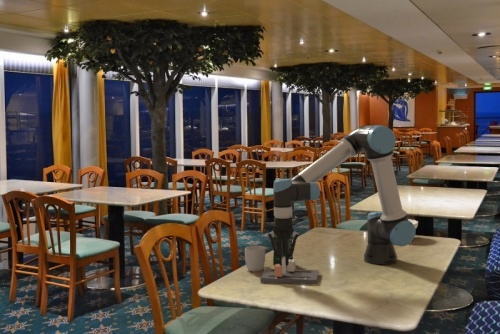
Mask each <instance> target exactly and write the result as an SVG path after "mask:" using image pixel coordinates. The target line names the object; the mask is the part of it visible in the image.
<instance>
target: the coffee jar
mask: <svg viewBox="0 0 500 334" xmlns="http://www.w3.org/2000/svg"><path fill="white" fill-rule="evenodd" d="M274 239H275V243H276V246H277V250H278V253H279V239H278V238H277V236H276V235H275V234H274ZM292 242H293V234H292V235H291V236H290V238H289V253H290V251H291V246H292ZM282 248H283V256H282V257H285V239H283V240H282ZM289 259H294V254H293V255H292V257H289ZM272 261H273V262H272V264H273V266H274V267H275V265H276V264H279V257H277V256H275V255H274V254H273V258H272ZM286 268H287V265H286Z"/></svg>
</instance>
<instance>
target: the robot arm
mask: <svg viewBox="0 0 500 334" xmlns="http://www.w3.org/2000/svg"><path fill="white" fill-rule="evenodd" d="M396 140H397V139H396V135H395V133H394V131H393V130H392V129H391V128H389V127H387V126H385V125H380V124H374V125H373V124H371V125H370V124H365V125H364V124H363V125H361V126H358V127H357V128H355V129H353V130H352V131H350V132H349V133H347V134H346V135H345V136H344V137H342V138H341V139H340V142H339V143H338V144H337V145H336V146H334V147H332V148H331V149H329V151H326V153H325V154H324V155H322V156H320V157H319V158H318V159H317V160H315V161H314V162H313V163H311V164H309V166H307V167H306V168H305V169H303V170H302V171H300V172H299V173H298V174H297V175H295V176H293V177H292V178H277V179H274V181H273V187H272V189H273V216H274V218H273V230H272V231H271V232H268V233H267V237H269V239H270V242H271V246H272V250H273V255H275V256H277V257H279V265H282V274H286V269H287V267H286V265H288V264H289V257H292V255H293V256H294V253H295V252H294V251H295V248H296V243H297V239H298V238H299V236H300V233H299V232H296V231H295V230H294V228H293V227H294V226H293V217H292V216H293V202H295V203H297V202H307V201H308V202H309V201H310V202H311V201H317V200H318V199H319V198H320V196H321V188H320V185H319V183H318V181H319V180H321V179H322V178H323V177H325V176H326V175H327V174H329V173H330V172H331V171H332V170H335V169H336V168H337V167H338V166H339V165H341V164H342V163H343V162H345V161H346V160H348V159H350V157H352V158H353V157H355V156H357V155H358V154H361V153H363V152H364V155H365V157H366V160H368V161H369V162H370V163H371V167H372V172H373V176H374V180H375V185H376V188H377V189H376V190H377V193H378V199H379V202H380V207H381V211H372V212H369V213H368V214H367V245H366V248H365V252H364V255H363V261H365V262H366V263H369V264H374V265H392V264H395V263H397V262H398V255H397V252H396V248H395V246H397V247H405V246H408V245H410V244H411V243H412V242H413V239H415V236H416V230H417V229H416V230H415V226H414V225H413V223H411V222H410V221H409V220H408V219H409V218H408V213H407V211H405V210H404V209H403V206H402V201H401V197H400V192H399V188H398V184H397V178H396V174H395V170H394V169H395V168H394V165H393V160H392V157H393V156H394V153H395V152H394V148H395V145H396V143H397V141H396ZM274 234H275V235H276V236H277V238H278V239H279V253H278V250H277V246H276V243H275V239H274ZM292 234H293V236H292V246H291V251H290V253H289V238H290V236H291V235H292ZM283 239H285V257H282V256H283V248H282V240H283Z"/></svg>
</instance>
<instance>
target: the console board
mask: <svg viewBox="0 0 500 334" xmlns="http://www.w3.org/2000/svg"><path fill="white" fill-rule="evenodd" d="M319 271H320V270H319V269H295V271H294V272H289V271H287V268H286V274H283V275H282V277H275V268H265V270H264V271H263V273H262V274H261V276H260V279H259V280H260V284H262V283H263V284H283V285H285V284H286V285H287V284H289V285H312V284H316V285H317V284H318V280H319V275H320V273H319Z"/></svg>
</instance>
